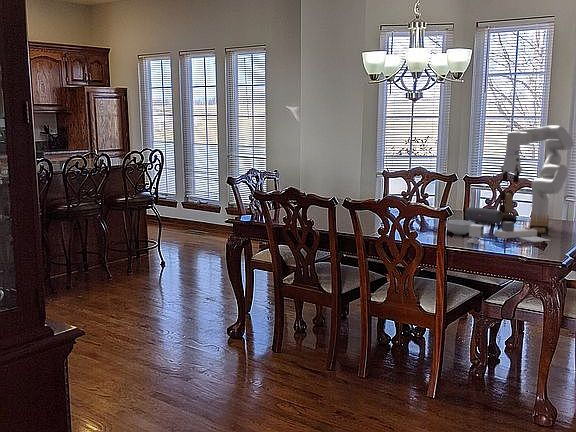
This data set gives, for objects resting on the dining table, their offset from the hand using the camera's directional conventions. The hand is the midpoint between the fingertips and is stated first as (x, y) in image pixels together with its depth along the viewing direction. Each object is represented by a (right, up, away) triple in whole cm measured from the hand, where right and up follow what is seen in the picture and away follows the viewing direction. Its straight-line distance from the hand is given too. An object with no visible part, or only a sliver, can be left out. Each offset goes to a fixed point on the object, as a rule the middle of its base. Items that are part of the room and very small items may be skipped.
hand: (510, 181), depth 356 cm
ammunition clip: (+17, -32, +1) cm, 36 cm away
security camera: (-30, -36, -27) cm, 54 cm away
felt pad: (+7, -34, -18) cm, 39 cm away
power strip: (+1, -32, -6) cm, 33 cm away
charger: (-5, -31, -9) cm, 33 cm away
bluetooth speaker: (-3, -26, +38) cm, 46 cm away
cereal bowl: (-30, -31, +1) cm, 43 cm away
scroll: (+16, -23, +53) cm, 61 cm away
